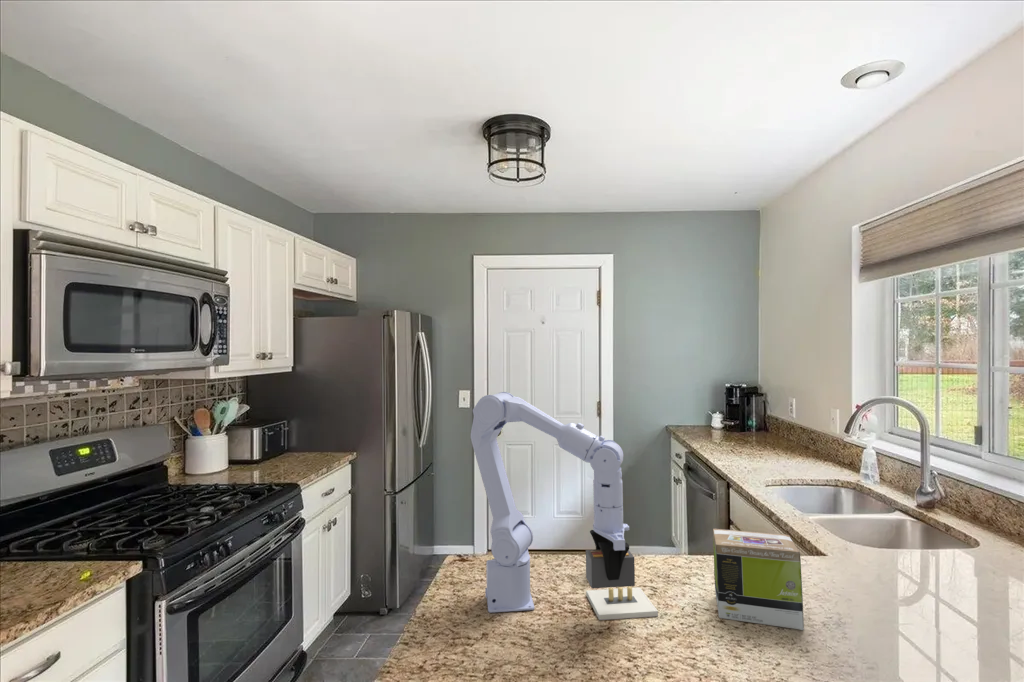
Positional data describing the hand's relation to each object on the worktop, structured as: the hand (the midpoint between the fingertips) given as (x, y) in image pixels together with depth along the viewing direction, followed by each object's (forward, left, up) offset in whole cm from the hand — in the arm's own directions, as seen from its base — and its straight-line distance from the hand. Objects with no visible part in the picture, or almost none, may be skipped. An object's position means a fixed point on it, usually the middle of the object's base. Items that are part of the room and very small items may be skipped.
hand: (609, 573), depth 96 cm
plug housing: (0, 0, -2) cm, 2 cm away
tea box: (+30, -1, -9) cm, 31 cm away
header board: (+4, +5, -9) cm, 11 cm away
